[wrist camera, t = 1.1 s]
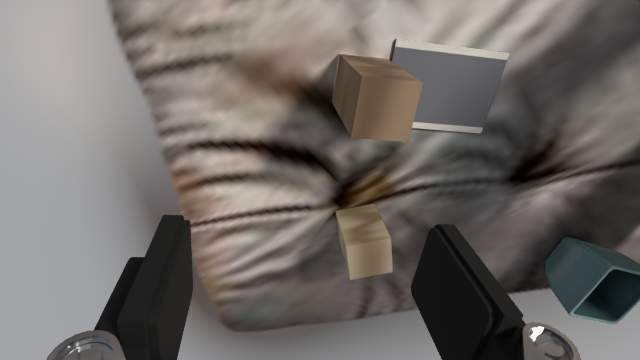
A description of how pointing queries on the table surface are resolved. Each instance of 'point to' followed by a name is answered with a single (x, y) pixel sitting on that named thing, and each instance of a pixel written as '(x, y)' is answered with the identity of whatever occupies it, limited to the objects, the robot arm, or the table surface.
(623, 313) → the flower pot
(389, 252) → the oak block
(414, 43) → the grey rectangular panel
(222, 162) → the table surface
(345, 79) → the walnut block
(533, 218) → the table surface
